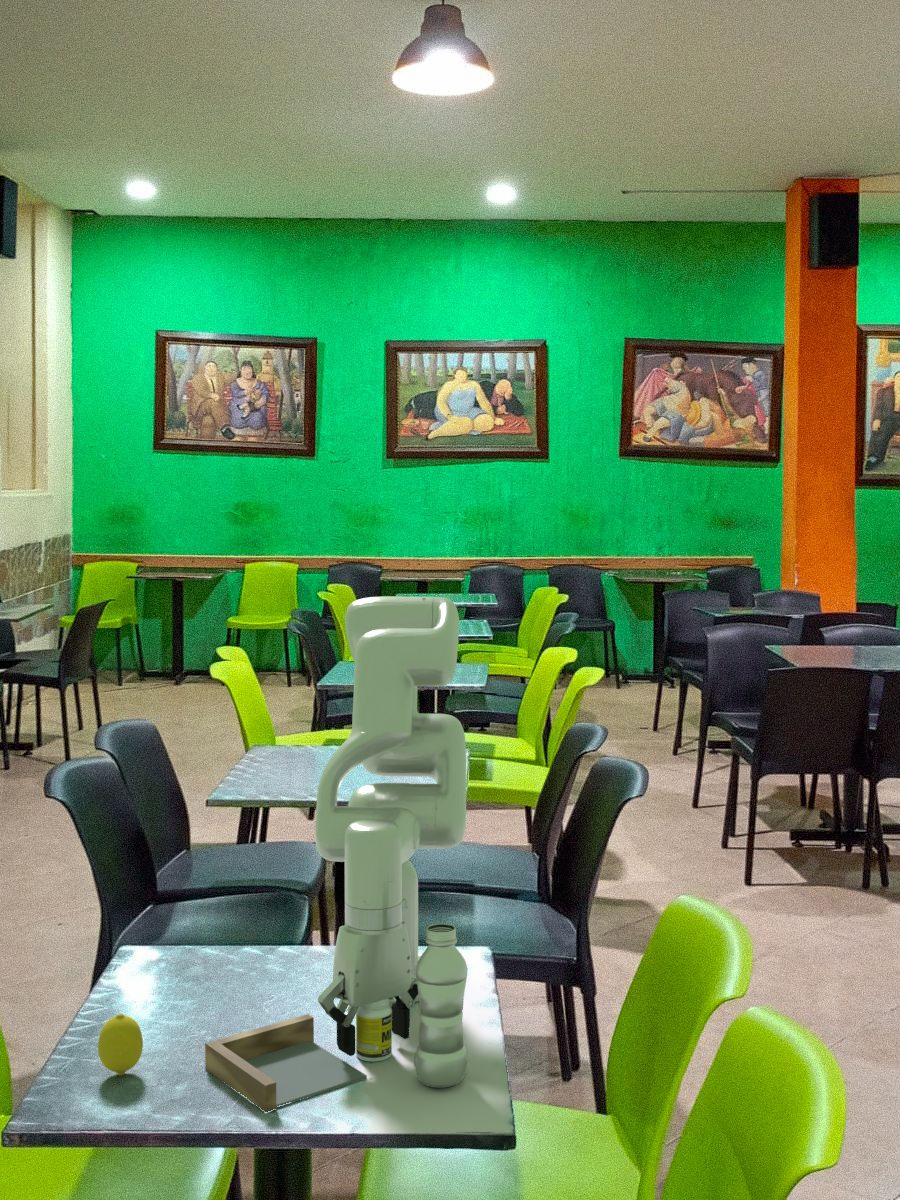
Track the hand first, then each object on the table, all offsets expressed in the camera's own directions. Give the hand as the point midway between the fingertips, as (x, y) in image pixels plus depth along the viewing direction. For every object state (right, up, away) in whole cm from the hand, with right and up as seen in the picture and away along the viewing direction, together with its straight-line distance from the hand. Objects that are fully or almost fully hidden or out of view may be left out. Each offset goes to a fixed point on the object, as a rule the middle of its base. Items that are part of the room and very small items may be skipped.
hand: (374, 1043), depth 172 cm
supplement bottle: (0, -2, 0) cm, 2 cm away
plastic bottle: (+9, -2, -8) cm, 12 cm away
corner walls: (-11, -2, -6) cm, 12 cm away
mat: (-10, -2, -6) cm, 12 cm away
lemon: (-32, -2, -6) cm, 33 cm away
